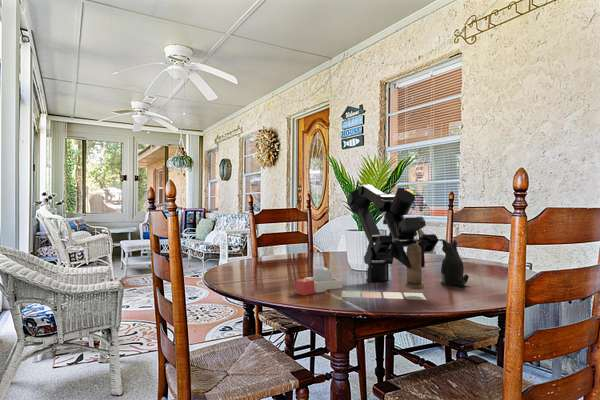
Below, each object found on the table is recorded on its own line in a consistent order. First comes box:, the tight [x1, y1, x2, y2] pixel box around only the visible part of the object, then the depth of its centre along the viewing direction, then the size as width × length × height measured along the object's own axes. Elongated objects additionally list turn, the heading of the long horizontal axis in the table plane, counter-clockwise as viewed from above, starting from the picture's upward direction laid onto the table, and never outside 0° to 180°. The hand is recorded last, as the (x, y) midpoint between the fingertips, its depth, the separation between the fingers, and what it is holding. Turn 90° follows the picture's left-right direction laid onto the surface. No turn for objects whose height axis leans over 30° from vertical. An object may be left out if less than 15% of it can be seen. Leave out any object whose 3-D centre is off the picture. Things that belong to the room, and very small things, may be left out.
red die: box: [294, 277, 315, 297], centre depth 116 cm, size 4×4×4 cm
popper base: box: [305, 276, 343, 294], centre depth 123 cm, size 9×9×3 cm
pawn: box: [404, 243, 425, 291], centre depth 109 cm, size 5×5×13 cm
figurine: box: [438, 239, 470, 288], centre depth 126 cm, size 10×10×15 cm
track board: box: [339, 290, 427, 301], centre depth 110 cm, size 24×10×1 cm, turn 81°
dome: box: [313, 266, 334, 282], centre depth 123 cm, size 6×6×6 cm
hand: (416, 266), depth 108 cm, fingers closed on pawn, 4 cm apart
